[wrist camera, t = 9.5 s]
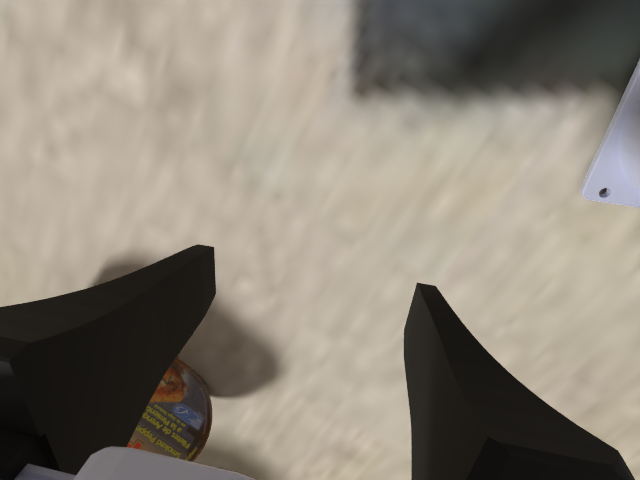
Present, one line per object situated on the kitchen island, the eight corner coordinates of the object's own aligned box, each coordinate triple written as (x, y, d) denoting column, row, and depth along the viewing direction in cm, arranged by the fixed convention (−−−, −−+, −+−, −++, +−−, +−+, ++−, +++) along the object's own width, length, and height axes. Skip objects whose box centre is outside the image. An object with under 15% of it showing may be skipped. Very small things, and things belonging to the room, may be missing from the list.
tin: (229, 396, 31) (179, 503, 24) (208, 410, 33) (156, 516, 25) (77, 281, 28) (-35, 365, 21) (61, 303, 29) (-49, 388, 22)
